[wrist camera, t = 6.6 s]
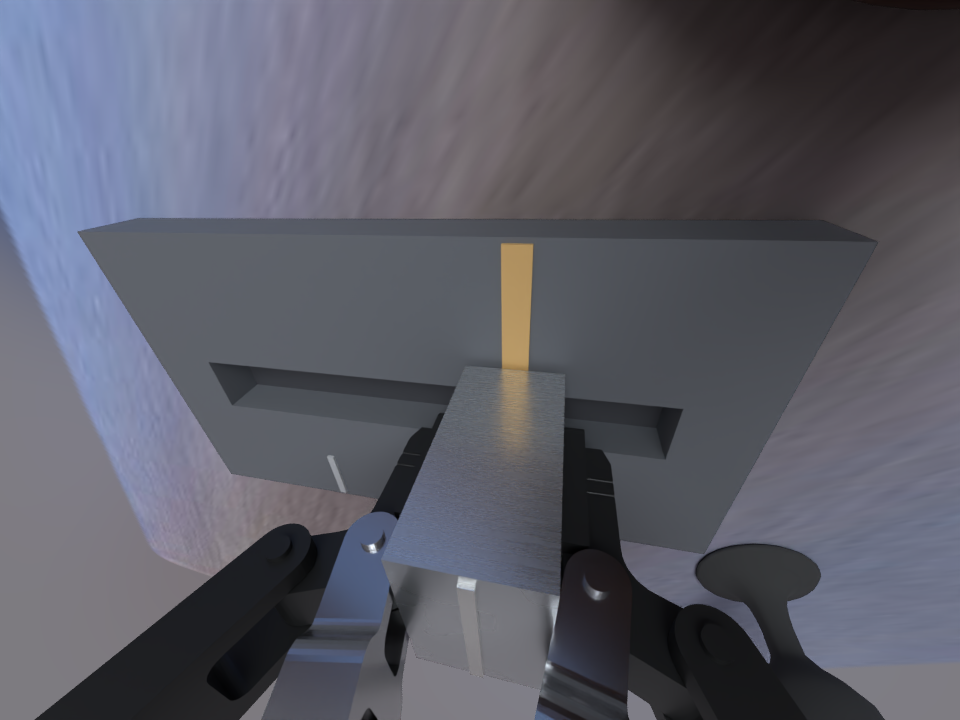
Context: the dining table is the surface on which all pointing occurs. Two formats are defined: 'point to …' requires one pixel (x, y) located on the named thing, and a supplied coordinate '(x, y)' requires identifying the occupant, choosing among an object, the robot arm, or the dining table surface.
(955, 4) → the scroll
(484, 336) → the slider plate with stripes
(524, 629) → the fader tab
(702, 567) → the sundae
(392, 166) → the dining table surface
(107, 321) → the dining table surface
